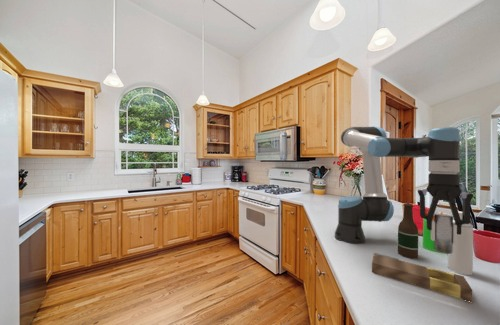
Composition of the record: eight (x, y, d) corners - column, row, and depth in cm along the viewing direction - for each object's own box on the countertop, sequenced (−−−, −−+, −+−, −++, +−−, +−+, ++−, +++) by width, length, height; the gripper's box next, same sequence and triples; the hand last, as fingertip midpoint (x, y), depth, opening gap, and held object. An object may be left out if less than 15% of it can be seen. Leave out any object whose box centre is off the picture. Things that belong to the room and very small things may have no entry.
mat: (372, 261, 83) (372, 260, 83) (374, 253, 90) (374, 252, 90) (398, 268, 78) (399, 267, 78) (398, 259, 85) (398, 258, 85)
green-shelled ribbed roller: (450, 253, 91) (451, 215, 91) (430, 251, 93) (431, 214, 93) (436, 245, 100) (436, 211, 100) (418, 243, 102) (418, 210, 102)
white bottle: (476, 277, 72) (477, 211, 72) (451, 272, 75) (452, 208, 75) (467, 268, 78) (468, 207, 78) (444, 264, 81) (445, 205, 81)
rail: (371, 273, 74) (372, 262, 74) (373, 263, 81) (373, 253, 81) (472, 303, 59) (472, 290, 59) (463, 287, 66) (463, 276, 66)
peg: (435, 251, 65) (435, 215, 65) (433, 246, 69) (433, 213, 69) (454, 255, 62) (454, 218, 62) (450, 250, 66) (451, 215, 66)
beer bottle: (413, 261, 83) (414, 206, 83) (393, 253, 90) (394, 202, 90) (422, 257, 87) (422, 204, 87) (402, 250, 94) (402, 201, 94)
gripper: (411, 172, 68) (410, 238, 68) (487, 174, 58) (486, 252, 57) (409, 172, 74) (409, 232, 74) (478, 173, 64) (477, 244, 63)
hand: (443, 241), depth 66 cm, fingers closed on peg, 4 cm apart
